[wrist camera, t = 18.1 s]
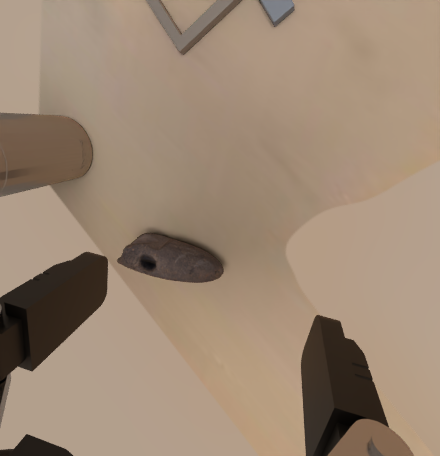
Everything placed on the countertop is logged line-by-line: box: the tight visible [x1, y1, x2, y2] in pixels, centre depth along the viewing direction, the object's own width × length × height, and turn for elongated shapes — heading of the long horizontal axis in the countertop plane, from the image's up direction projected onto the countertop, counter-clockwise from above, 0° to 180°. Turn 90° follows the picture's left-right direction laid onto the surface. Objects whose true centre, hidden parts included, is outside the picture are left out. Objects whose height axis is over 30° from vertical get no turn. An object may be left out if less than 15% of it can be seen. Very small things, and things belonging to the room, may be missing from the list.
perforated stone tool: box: [117, 233, 224, 283], centre depth 42 cm, size 15×5×7 cm, turn 77°
